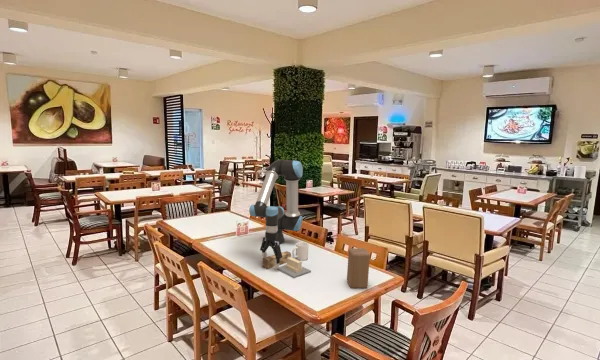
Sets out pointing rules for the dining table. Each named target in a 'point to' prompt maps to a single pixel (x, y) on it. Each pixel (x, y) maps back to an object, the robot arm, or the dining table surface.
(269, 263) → the oak bar
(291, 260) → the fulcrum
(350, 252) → the wooden block
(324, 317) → the dining table surface
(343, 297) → the dining table surface
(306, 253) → the cup
